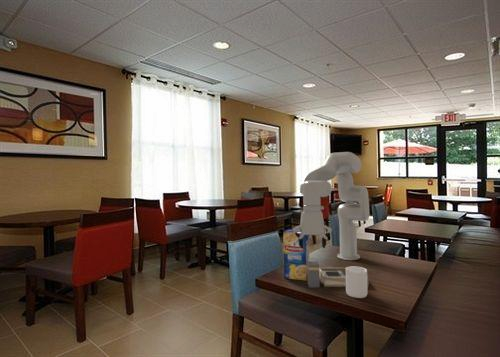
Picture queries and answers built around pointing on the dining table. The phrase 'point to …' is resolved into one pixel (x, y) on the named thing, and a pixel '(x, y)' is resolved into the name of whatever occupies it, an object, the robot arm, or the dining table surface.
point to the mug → (356, 281)
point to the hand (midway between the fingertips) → (312, 247)
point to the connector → (313, 274)
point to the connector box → (334, 277)
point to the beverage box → (295, 255)
